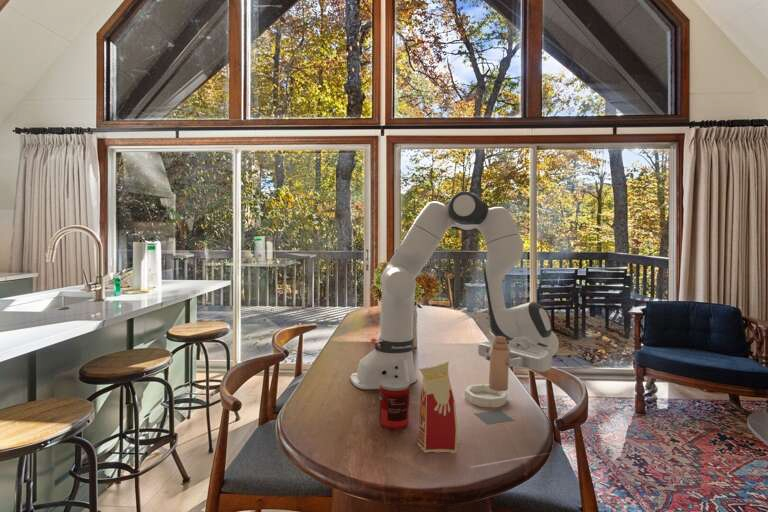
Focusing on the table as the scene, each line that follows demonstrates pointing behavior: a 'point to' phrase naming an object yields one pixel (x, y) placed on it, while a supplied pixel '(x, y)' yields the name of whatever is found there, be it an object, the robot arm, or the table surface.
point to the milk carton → (437, 411)
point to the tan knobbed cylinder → (499, 364)
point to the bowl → (485, 396)
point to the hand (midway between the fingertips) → (497, 360)
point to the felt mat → (494, 417)
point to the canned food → (394, 403)
